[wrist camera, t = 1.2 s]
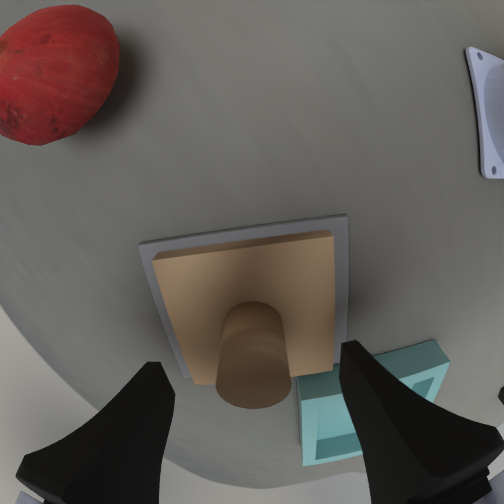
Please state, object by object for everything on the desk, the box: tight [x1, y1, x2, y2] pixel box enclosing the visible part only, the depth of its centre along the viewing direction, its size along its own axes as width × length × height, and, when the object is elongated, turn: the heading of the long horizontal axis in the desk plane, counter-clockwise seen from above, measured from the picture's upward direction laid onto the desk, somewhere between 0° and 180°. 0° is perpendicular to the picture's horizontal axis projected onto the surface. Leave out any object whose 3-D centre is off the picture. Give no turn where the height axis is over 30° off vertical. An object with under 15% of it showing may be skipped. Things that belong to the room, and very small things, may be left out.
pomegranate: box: [0, 5, 120, 146], centre depth 6 cm, size 6×6×8 cm
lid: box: [152, 229, 335, 409], centre depth 12 cm, size 8×8×5 cm
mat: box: [137, 214, 349, 379], centre depth 14 cm, size 10×9×1 cm
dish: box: [297, 339, 450, 466], centre depth 17 cm, size 10×10×2 cm
